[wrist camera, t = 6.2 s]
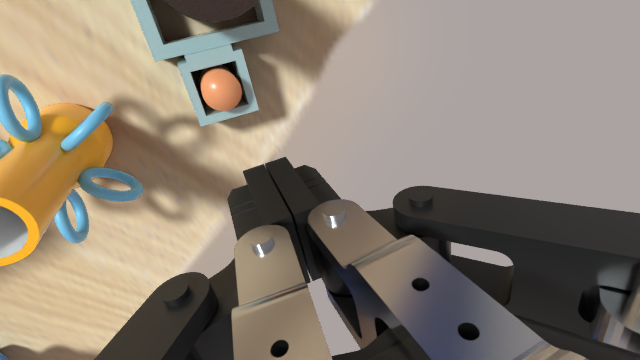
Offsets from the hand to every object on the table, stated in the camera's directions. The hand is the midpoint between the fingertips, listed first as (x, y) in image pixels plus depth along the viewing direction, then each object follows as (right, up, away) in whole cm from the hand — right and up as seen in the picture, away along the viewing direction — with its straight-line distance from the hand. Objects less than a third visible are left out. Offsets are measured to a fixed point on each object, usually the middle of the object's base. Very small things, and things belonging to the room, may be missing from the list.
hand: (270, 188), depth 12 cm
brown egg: (-7, +9, +19) cm, 22 cm away
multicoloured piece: (-19, +4, +18) cm, 26 cm away
